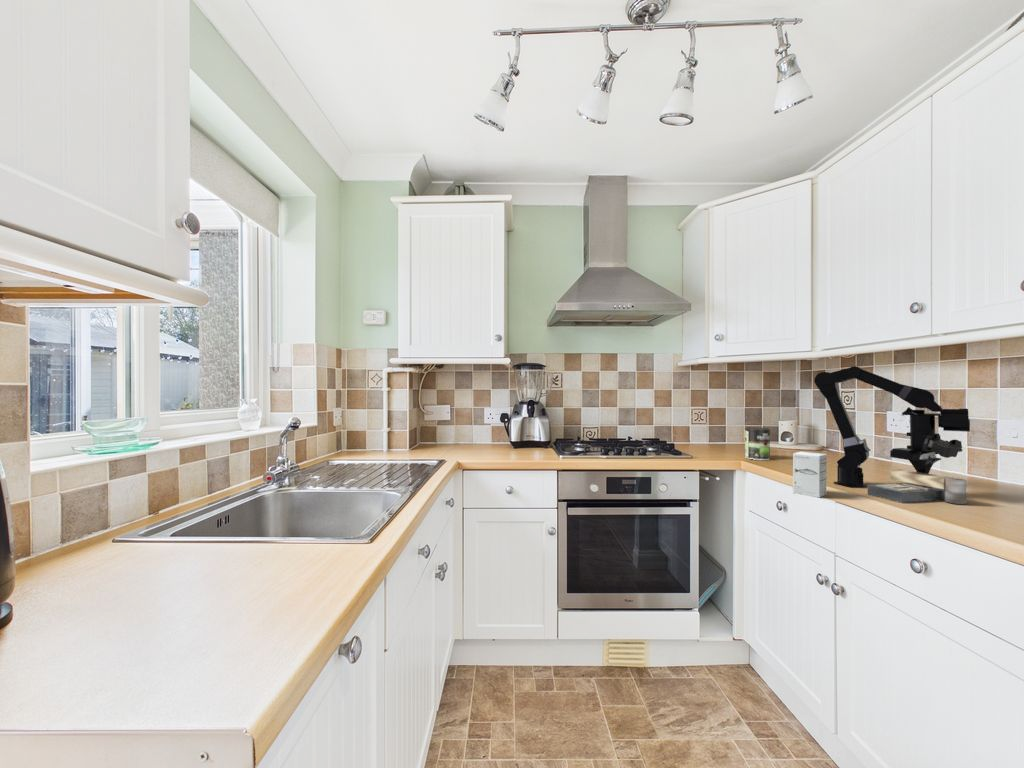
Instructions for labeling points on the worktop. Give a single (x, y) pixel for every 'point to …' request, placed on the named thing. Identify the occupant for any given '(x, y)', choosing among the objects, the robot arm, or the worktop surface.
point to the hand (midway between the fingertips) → (923, 480)
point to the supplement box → (809, 474)
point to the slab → (906, 492)
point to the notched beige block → (935, 483)
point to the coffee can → (757, 443)
